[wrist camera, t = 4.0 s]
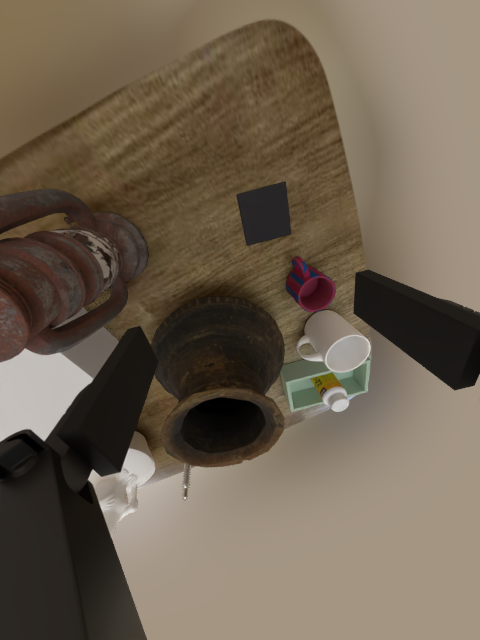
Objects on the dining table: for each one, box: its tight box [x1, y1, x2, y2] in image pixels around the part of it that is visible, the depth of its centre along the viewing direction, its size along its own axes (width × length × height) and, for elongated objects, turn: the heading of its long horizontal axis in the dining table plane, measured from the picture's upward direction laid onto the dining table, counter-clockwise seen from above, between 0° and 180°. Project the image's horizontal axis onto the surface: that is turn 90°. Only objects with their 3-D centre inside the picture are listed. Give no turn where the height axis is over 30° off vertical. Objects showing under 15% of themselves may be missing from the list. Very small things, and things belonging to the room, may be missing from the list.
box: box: [0, 307, 119, 442], centre depth 39 cm, size 28×35×11 cm
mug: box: [296, 310, 370, 373], centre depth 44 cm, size 9×12×11 cm
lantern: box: [0, 189, 148, 362], centre depth 20 cm, size 11×16×35 cm
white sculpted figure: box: [88, 431, 155, 538], centre depth 45 cm, size 18×22×32 cm
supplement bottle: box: [310, 372, 349, 412], centre depth 50 cm, size 6×6×10 cm
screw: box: [182, 463, 191, 500], centre depth 58 cm, size 13×5×5 cm
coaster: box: [237, 182, 291, 246], centre depth 36 cm, size 8×8×1 cm
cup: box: [286, 256, 336, 312], centre depth 39 cm, size 7×10×7 cm
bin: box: [280, 357, 371, 412], centre depth 53 cm, size 20×11×6 cm, turn 103°
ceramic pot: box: [151, 296, 285, 467], centre depth 37 cm, size 24×24×22 cm
